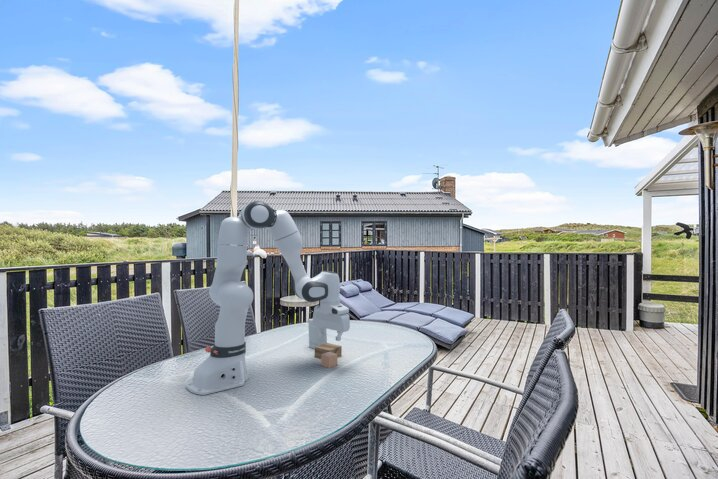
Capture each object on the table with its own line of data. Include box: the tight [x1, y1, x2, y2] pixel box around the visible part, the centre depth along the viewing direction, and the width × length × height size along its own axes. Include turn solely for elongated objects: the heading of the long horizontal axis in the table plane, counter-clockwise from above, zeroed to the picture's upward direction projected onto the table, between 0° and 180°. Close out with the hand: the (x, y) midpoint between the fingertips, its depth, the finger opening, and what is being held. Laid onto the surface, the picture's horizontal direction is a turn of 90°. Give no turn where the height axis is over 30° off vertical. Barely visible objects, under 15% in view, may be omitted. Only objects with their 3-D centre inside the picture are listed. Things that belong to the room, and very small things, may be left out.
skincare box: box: [308, 317, 328, 350], centre depth 185 cm, size 8×6×15 cm
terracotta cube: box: [320, 352, 338, 369], centre depth 159 cm, size 5×5×5 cm
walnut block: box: [314, 342, 343, 360], centre depth 171 cm, size 9×9×5 cm
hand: (330, 338), depth 159 cm, fingers open, 8 cm apart
